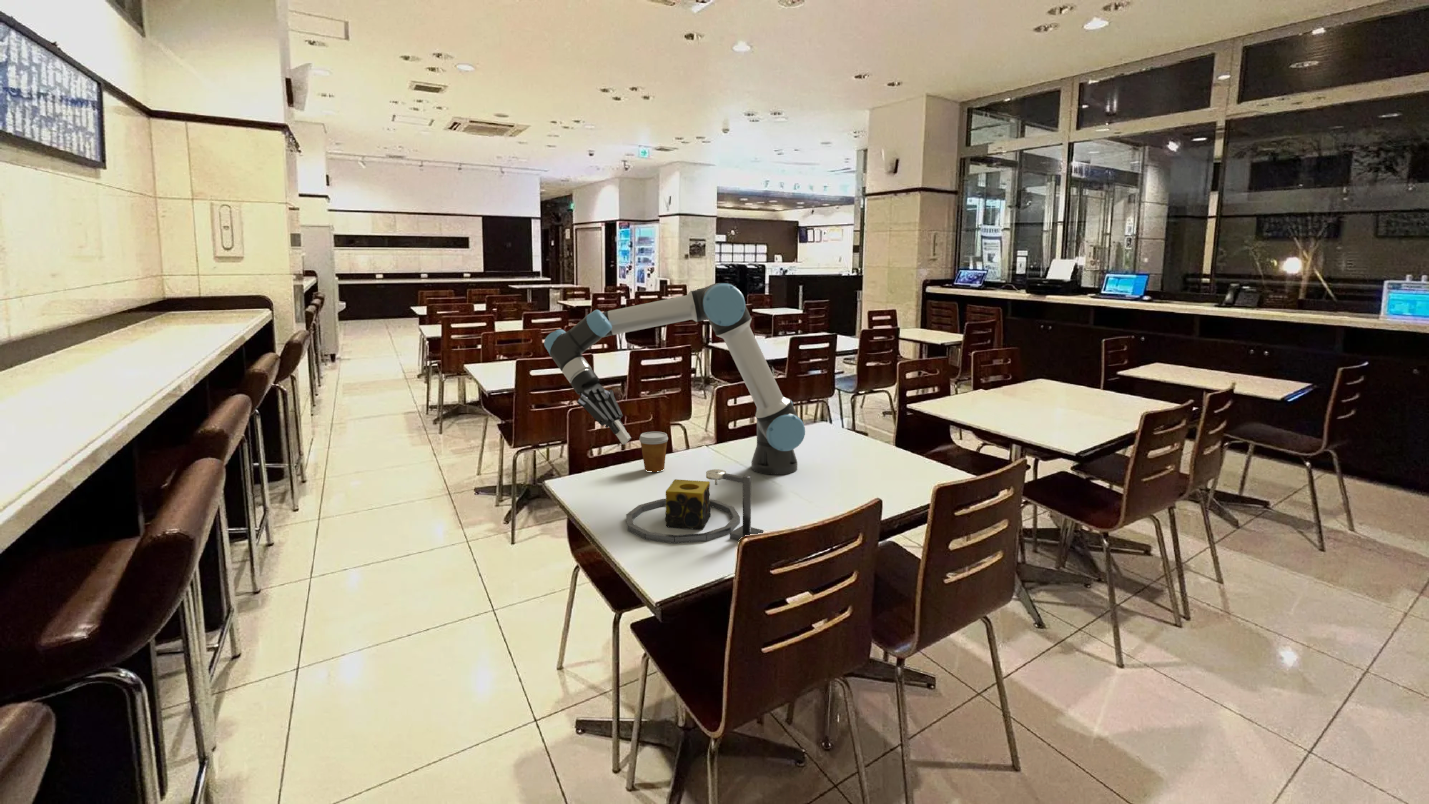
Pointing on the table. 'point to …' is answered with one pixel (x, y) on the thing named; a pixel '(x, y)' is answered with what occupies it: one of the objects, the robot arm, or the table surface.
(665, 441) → the disposable coffee cup
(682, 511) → the yellow and black cube
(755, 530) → the dial indicator stand
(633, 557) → the table surface
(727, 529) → the ring
